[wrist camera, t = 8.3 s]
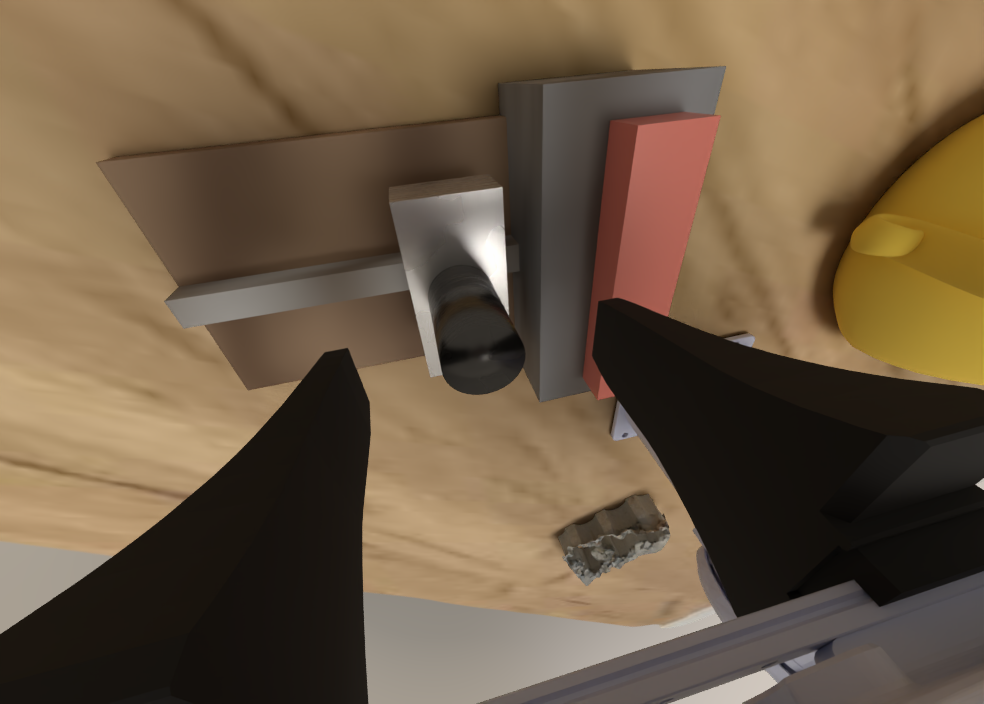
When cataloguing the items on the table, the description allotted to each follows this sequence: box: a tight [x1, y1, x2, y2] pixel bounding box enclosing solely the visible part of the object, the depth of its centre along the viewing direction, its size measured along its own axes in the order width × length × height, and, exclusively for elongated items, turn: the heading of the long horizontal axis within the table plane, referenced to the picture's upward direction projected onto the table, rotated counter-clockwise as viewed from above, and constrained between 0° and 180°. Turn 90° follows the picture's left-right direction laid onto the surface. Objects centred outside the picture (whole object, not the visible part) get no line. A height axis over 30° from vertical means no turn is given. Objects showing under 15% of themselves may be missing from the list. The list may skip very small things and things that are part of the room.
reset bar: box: [583, 112, 721, 400], centre depth 13 cm, size 2×10×2 cm, turn 4°
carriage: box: [389, 174, 526, 395], centre depth 13 cm, size 4×7×7 cm, turn 4°
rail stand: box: [96, 66, 726, 402], centre depth 15 cm, size 19×12×5 cm, turn 94°
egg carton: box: [558, 494, 670, 586], centre depth 37 cm, size 11×8×4 cm
